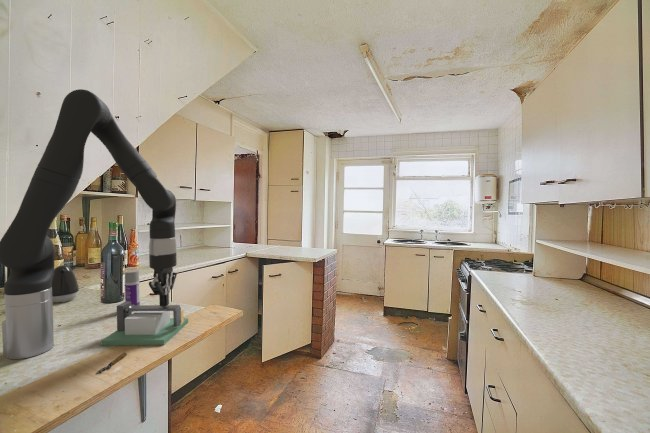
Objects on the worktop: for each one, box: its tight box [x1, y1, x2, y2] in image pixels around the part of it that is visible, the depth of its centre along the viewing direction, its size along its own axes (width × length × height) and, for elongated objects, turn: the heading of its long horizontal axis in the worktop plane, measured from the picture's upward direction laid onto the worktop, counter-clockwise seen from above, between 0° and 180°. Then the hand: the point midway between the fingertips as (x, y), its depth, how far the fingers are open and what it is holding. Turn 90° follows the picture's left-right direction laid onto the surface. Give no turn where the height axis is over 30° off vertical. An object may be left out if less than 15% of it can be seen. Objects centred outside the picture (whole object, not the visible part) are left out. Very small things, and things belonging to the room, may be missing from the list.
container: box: [124, 269, 141, 305], centre depth 113 cm, size 5×5×15 cm
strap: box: [124, 304, 182, 326], centre depth 93 cm, size 16×4×6 cm, turn 92°
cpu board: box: [101, 301, 189, 346], centre depth 93 cm, size 18×16×10 cm
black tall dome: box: [52, 264, 80, 303], centre depth 122 cm, size 10×10×15 cm
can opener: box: [95, 352, 128, 375], centre depth 75 cm, size 9×2×1 cm, turn 172°
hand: (164, 305), depth 93 cm, fingers closed
